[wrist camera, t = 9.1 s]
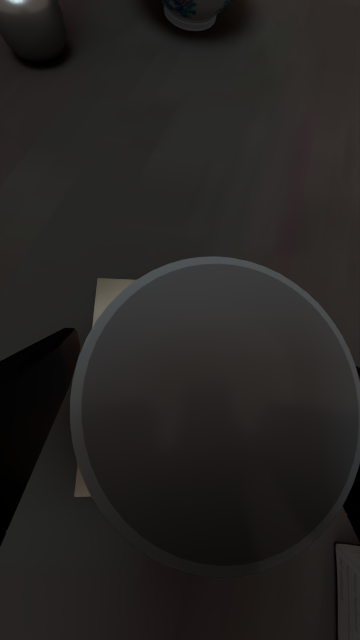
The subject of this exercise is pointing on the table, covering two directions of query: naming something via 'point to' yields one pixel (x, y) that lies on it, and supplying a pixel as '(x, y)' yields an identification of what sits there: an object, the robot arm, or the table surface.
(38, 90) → the table surface
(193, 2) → the chinaware
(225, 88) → the table surface
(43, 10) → the plastic bottle
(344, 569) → the supplement box
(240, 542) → the grey flared tumbler
